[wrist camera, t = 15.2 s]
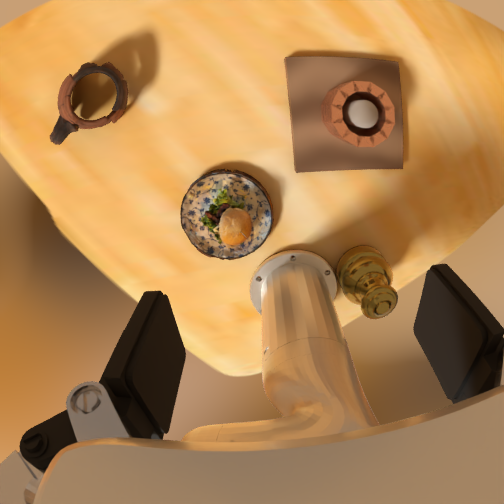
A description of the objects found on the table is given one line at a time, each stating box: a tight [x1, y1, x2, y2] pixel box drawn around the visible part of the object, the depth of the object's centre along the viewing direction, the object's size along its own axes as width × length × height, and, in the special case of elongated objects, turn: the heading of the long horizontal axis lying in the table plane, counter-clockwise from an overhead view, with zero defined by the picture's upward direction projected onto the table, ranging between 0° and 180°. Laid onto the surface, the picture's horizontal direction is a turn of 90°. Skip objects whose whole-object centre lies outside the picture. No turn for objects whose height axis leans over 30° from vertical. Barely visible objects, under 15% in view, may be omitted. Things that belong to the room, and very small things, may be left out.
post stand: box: [284, 57, 403, 173], centre depth 29 cm, size 14×14×6 cm
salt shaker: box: [337, 246, 398, 319], centre depth 37 cm, size 7×7×10 cm
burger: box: [181, 169, 273, 260], centre depth 35 cm, size 12×12×8 cm
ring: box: [321, 81, 395, 147], centre depth 28 cm, size 7×7×5 cm
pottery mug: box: [50, 62, 128, 145], centre depth 29 cm, size 12×10×8 cm
